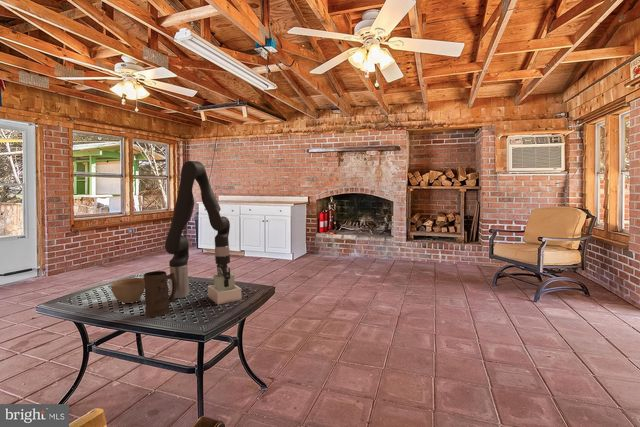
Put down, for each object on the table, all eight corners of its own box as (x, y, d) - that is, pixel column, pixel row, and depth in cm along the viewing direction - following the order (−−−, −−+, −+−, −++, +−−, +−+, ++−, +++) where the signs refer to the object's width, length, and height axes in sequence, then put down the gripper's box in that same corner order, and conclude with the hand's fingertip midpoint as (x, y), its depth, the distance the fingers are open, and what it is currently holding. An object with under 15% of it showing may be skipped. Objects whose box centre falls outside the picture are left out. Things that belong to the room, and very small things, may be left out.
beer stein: (152, 319, 160) (152, 275, 159) (138, 315, 165) (138, 273, 165) (181, 310, 173) (181, 270, 172) (168, 307, 178) (168, 268, 178)
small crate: (218, 290, 181) (217, 277, 181) (214, 288, 187) (213, 275, 186) (234, 287, 186) (234, 274, 186) (230, 285, 192) (229, 272, 191)
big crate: (218, 304, 177) (217, 293, 176) (208, 296, 190) (207, 286, 190) (241, 299, 184) (241, 288, 183) (230, 292, 197) (230, 281, 197)
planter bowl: (133, 295, 196) (132, 276, 195) (153, 299, 189) (152, 279, 188) (105, 304, 182) (103, 284, 181) (125, 308, 175) (124, 287, 174)
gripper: (211, 253, 189) (213, 283, 190) (219, 257, 177) (221, 289, 178) (224, 251, 193) (226, 281, 194) (234, 255, 181) (236, 286, 183)
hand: (224, 285), depth 186 cm, fingers closed on small crate, 6 cm apart
